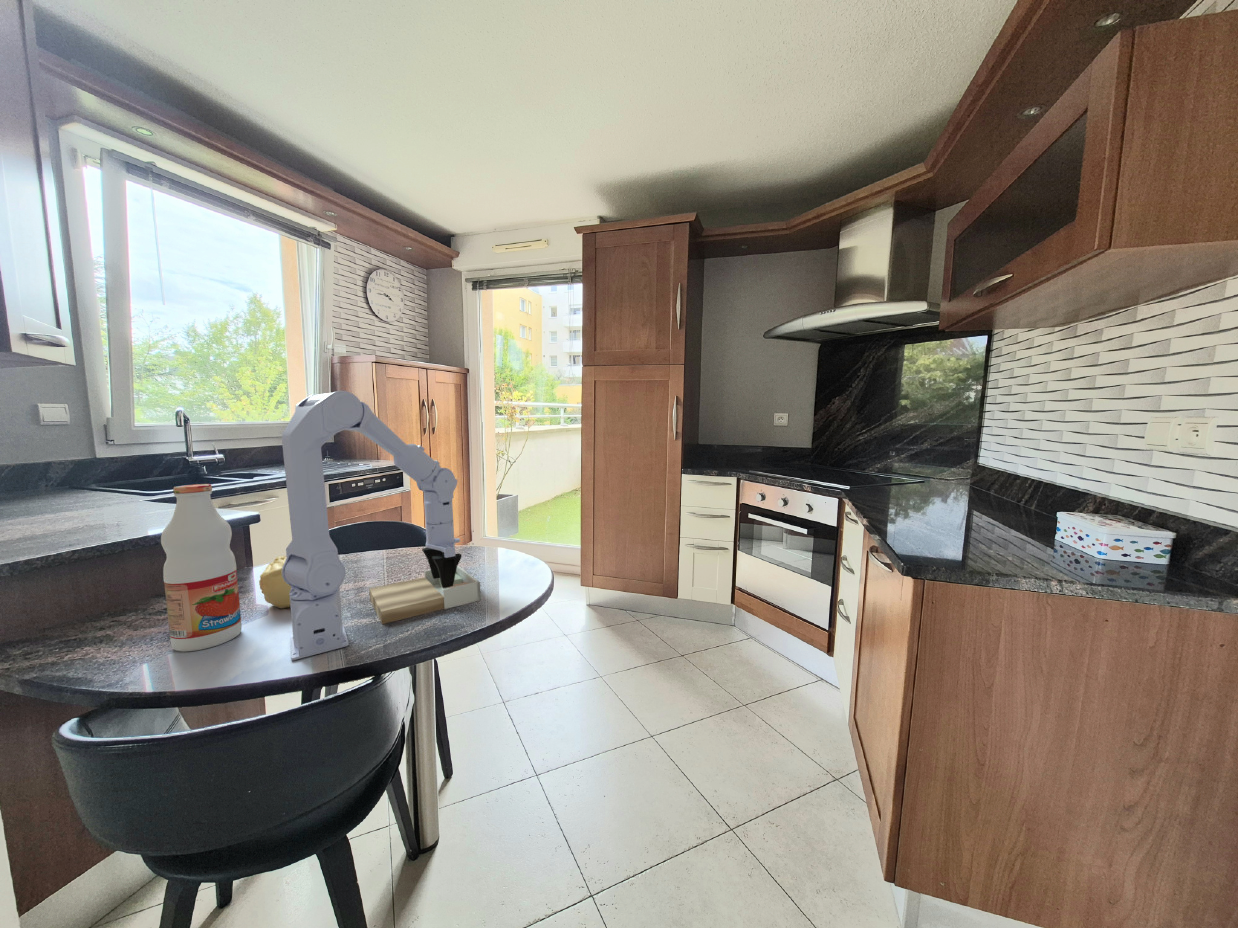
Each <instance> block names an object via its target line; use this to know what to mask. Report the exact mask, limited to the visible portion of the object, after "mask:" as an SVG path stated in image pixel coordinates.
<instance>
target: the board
mask: <svg viewBox="0 0 1238 928" xmlns="http://www.w3.org/2000/svg"><path fill="white" fill-rule="evenodd" d="M368 592H369V601H370V603H371V605H372V608H373V609H374V611H375V613H376V615H377V617H378V620H379V621H380V624H381V625H385V624H388V623H392V622H396V621H400V620H405V619H408V618H409V619H410V618H413V617H418V616H421V615H424V614H430V613H432V612H437V611H440V610H445V609H444V597H443V596H442V595H441V594H440V592H439V591H438V590H437V589H436V588H435V587H434V586H433V585H432V584H431V583H430V582H429V581H428V580H427V579H426V578H425V576H422V577H419V578H414V579H410V580H404V581H399V582H394V583H390V584H385V585H380V586H374V587H371V588H368Z"/></svg>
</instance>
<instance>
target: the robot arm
mask: <svg viewBox="0 0 1238 928" xmlns="http://www.w3.org/2000/svg"><path fill="white" fill-rule="evenodd" d="M294 408H295V410H294V413H293V415H292V417H291V418H290V420H289V421H288V423H287V426H286V427H285V429H284V431H283V432H282V434H281V443H282V445H281V446H282V455H283V463H284V475H285V483H286V484H285V485H286V493H287V502H288V510H289V511H288V512H289V521H290V522H289V524H290V530H291V531H290V532H291V541H290V543H289V544H288V546H287V547H286V549H285V554H286V555H285V556H286V561H285V563H284V565H283V568H282V577H283V579H284V581H285V582H286V583H287V584H289V585H291V590H290V594H289V595H290V606H291V607H290V616H291V627H292V636H291V638H290V660H291V661H296V660H300V659H303V658H307V657H311V656H315V655H318V654H322V653H327V652H329V651H330V652H331V651H334V650H337V649H341V648H345V647H346V648H347V646H349V644H350V643H349V639H348V637H347V633H346V629H345V626H344V625H343V615H342V613H343V612H342V604H341V603H342V601H341V590H340V588H341V586H342V585H343V583H344V581H345V579H346V573H347V572H346V566H345V565H344V563H343V562H342V561H341V560H340V557H339V552H338V550H339V549H338V547H337V546H336V544H335V543H334V541H333V540H332V538H331V536H330V528H329V518H328V516H329V515H328V508H327V507H328V506H327V497H326V486H325V475H324V466H323V465H324V464H323V463H324V462H323V456H322V455H323V453H322V447H323V445H325V444H326V443H327V442H328V441H329V440H330V439H331V438H333V437H334V436H335V435H336V434H338V433H340V432H342V431H349V432H357V433H360V434H362V435H363V436H364V437H366V438H368V439H369V440H370V441H372V442H373V443H375V444H376V445H378V446H379V447H380V448H381V449H383V450H385V452H387V453H389V454H390V455H392V456H393V464H394V466H395V467H396V468H398V469H399V470H400V471H402V472H403V473H404V474H406V475H407V476H408V477H409V478H410V479H412V480H413V481H414V482H416V486H417V488H418V490H419V491H422V492H423V505H424V522H425V537H426V539H425V540H426V542H425V547H423V548H421V551H422V553H423V554H424V555H425V557H426V559H427V562H428V566H429V570H431V573H432V576H433V578H434V579H436V578H440V581H441V585H442V587H443V588H447V587H451V586H453V584H454V579H455V573H456V569H457V566H459V563H460V561H461V559H462V554H461V553H460V552H459V553H458V552H457V553H456V547H455V546H456V543H460V542H461V539H460V538H458V537H455V531H454V529H455V528H454V510H453V499H454V492H455V491H456V488H457V486H458V479H457V478H456V476H455V474H454V472H453V471H452V470H451V469H449V468H447V467H441V465H440V464H441V463H440V462H439V461H438V460H437V459H435V460H434V459H433V458H432V457H431V456H430V455H429V454H428V453H426V452H425V447H423V446H422V445H417V444H415V443H408V444H407V443H406V442H404V440H403V439H401V438H400V437H399V436H398V435H397V434H396V433H395V432H394V431H393V430H392V429H391V428H390V427H388V425H386V423H385V422H383V421H382V420H381V419H380V418H379V417H378V416H377V415H376V414H374V412H373V411H372V409H371V408H370V406H369V405H368V404H367V403H365V402H363V401H361V400H360V399H359V398H358V396H357V395H355V394H353V393H352V392H349V391H347V390H337V391H333V392H327V393H313V394H311V395H310V394H309V396H307V397H306V398H304V399H302V400H301V401H300V402H298V403H296V405H295V406H294Z"/></svg>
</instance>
